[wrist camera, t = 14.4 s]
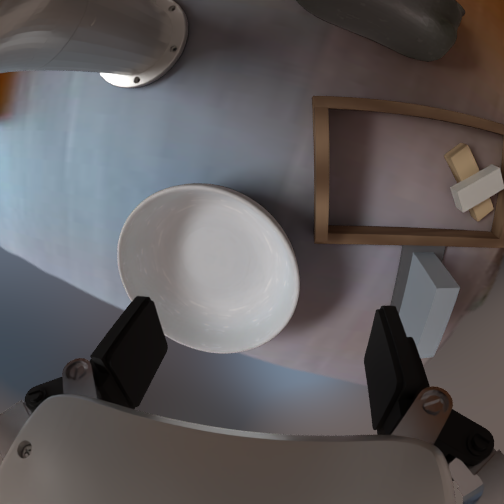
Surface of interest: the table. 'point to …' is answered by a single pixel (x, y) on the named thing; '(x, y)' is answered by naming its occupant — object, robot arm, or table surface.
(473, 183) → the offcut upper
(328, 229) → the wooden tray
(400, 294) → the mat
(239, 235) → the serving bowl
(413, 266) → the light grey block
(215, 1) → the table surface
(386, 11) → the rock
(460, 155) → the offcut lower
